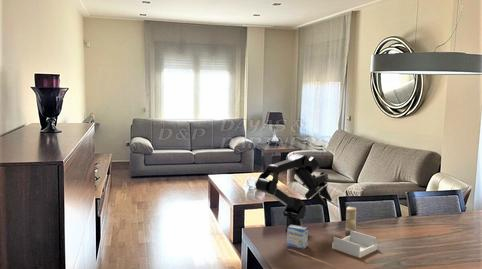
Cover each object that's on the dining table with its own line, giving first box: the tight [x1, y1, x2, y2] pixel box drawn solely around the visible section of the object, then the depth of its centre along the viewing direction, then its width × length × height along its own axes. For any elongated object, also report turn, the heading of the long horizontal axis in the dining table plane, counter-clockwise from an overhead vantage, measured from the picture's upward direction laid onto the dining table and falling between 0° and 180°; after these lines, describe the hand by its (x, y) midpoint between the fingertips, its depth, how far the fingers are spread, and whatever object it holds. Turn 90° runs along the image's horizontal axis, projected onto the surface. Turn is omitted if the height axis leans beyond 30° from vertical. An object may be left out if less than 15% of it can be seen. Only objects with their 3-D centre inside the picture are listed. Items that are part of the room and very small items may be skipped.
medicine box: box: [286, 225, 309, 249], centre depth 175 cm, size 8×4×9 cm, turn 62°
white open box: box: [331, 230, 378, 259], centre depth 172 cm, size 13×13×6 cm
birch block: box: [344, 206, 357, 237], centre depth 189 cm, size 4×4×13 cm
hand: (328, 203), depth 194 cm, fingers open, 9 cm apart
